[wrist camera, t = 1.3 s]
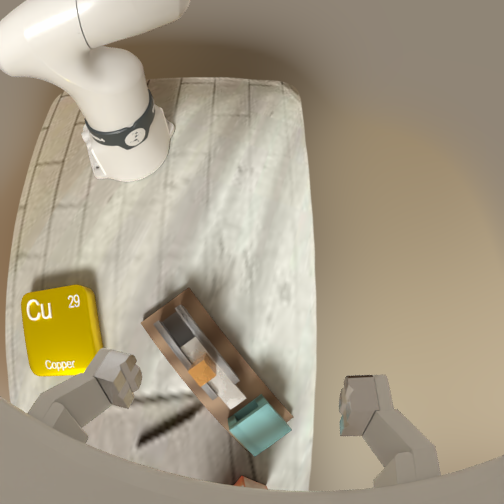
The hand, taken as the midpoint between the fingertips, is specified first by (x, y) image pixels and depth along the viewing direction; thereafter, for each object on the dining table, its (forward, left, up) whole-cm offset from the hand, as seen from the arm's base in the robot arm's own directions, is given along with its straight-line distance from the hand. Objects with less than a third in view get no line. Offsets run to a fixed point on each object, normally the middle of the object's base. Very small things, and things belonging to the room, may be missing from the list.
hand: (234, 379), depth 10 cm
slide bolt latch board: (+5, -4, -38) cm, 39 cm away
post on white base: (+4, -4, -36) cm, 36 cm away
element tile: (-16, -23, -39) cm, 48 cm away
